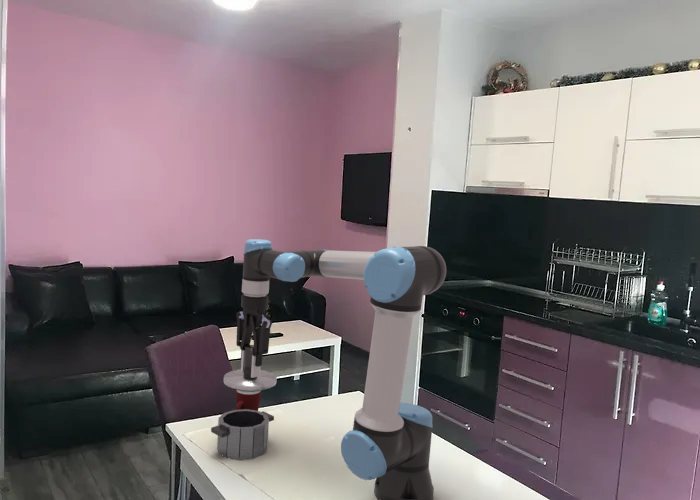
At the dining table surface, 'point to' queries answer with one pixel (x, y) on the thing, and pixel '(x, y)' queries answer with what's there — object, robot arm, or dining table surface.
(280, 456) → the dining table surface
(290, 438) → the dining table surface
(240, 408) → the mug
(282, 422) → the dining table surface
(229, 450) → the pot
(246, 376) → the lid
